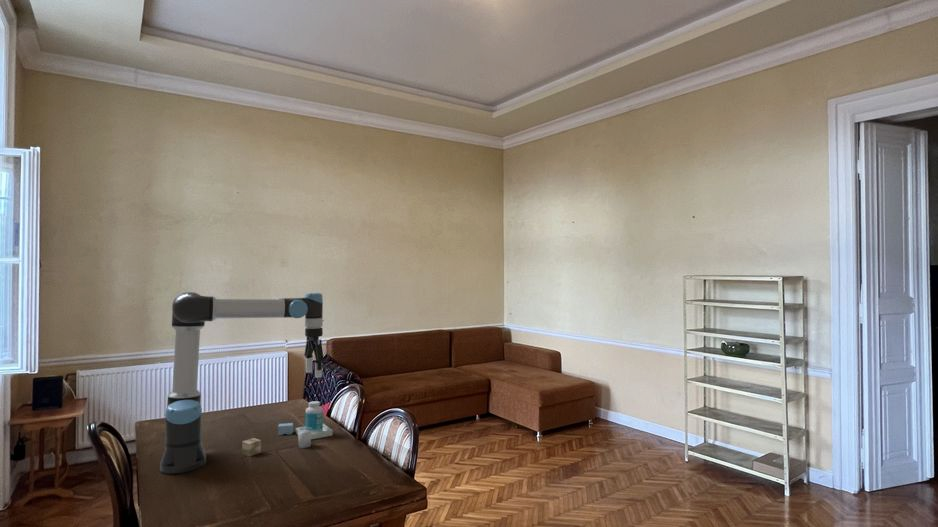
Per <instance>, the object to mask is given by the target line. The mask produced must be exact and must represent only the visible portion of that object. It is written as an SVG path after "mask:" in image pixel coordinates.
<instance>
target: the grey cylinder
mask: <svg viewBox="0 0 938 527" xmlns="http://www.w3.org/2000/svg"><path fill="white" fill-rule="evenodd" d="M297 437H298V438H297V439H298V445H297V446H298V448H299V449H308V448H310V447H311V446H312V442H311V441H312V439H311V430H301V431H299V432H298V435H297ZM307 447H308V448H307Z"/></svg>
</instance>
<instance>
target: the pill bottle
mask: <svg viewBox="0 0 938 527" xmlns="http://www.w3.org/2000/svg"><path fill="white" fill-rule="evenodd" d="M320 405H321V402H320V401H318V400H315V401H309V402H308V407H306V408H305V426H304V427H305V430H311V433H317V432H322V431H323V423H324V421H323V420H324V416H323V414H324V411H323V410H324V409H323V407H322V406H320Z"/></svg>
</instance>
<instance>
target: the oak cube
mask: <svg viewBox="0 0 938 527" xmlns="http://www.w3.org/2000/svg"><path fill="white" fill-rule="evenodd" d="M241 446H242V450H241V452H242V453H241V454H242V455H245V456H247V457H251V456H254V455H257V454H261V453H262V440H261V439H257V438H256V437H251V438H248V439H246V440H242V444H241Z"/></svg>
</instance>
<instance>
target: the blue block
mask: <svg viewBox="0 0 938 527" xmlns="http://www.w3.org/2000/svg"><path fill="white" fill-rule="evenodd" d="M292 433H294V423H293V422H287V423H278V426H277V435H278V436H284V435H283V434H287V435H293V434H292Z"/></svg>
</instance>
